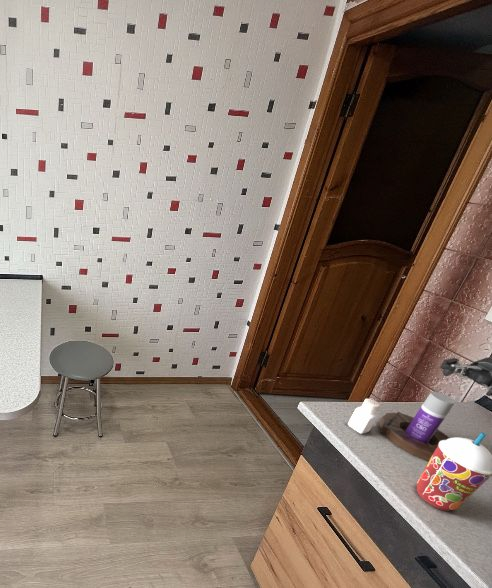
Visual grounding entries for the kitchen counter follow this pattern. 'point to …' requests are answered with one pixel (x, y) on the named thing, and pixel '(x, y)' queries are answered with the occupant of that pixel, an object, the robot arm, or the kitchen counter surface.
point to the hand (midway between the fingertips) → (467, 382)
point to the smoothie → (455, 472)
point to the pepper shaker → (364, 416)
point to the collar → (393, 431)
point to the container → (430, 417)
